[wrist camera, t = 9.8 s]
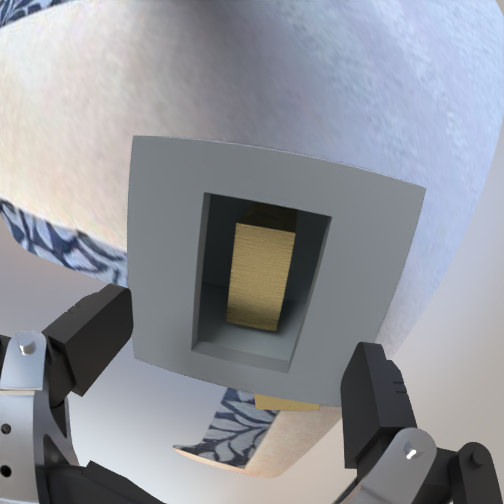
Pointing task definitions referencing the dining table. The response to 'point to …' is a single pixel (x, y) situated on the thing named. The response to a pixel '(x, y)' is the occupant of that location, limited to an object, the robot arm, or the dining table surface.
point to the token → (281, 404)
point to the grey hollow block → (300, 271)
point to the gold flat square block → (261, 265)
